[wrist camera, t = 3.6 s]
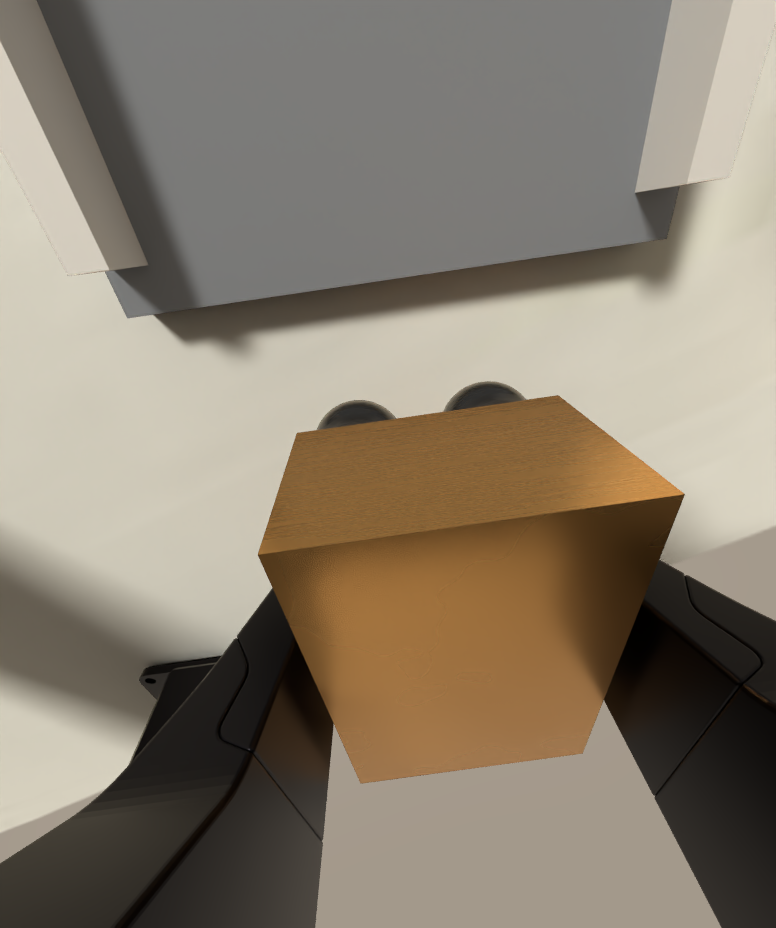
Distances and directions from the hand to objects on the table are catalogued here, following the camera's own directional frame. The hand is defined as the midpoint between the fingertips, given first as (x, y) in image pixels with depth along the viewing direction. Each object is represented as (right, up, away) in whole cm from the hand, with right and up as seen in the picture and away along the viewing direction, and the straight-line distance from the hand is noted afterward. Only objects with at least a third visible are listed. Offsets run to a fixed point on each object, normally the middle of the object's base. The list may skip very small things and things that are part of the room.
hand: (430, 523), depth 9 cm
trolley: (0, +1, +1) cm, 1 cm away
